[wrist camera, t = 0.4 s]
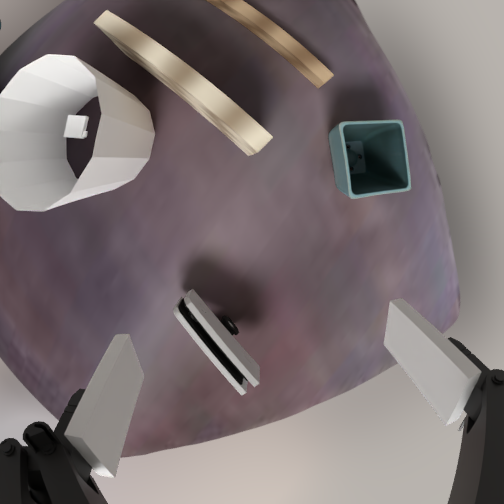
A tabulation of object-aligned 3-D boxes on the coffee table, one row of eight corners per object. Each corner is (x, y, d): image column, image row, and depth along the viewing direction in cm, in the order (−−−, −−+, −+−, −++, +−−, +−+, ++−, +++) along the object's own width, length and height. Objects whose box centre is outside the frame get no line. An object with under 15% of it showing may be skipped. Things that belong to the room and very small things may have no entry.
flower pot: (314, 129, 36) (338, 121, 28) (370, 125, 37) (403, 119, 28) (324, 191, 39) (349, 199, 31) (378, 183, 39) (411, 190, 31)
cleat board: (126, 55, 31) (93, 22, 19) (205, -13, 28) (200, -59, 17) (248, 156, 37) (258, 152, 25) (326, 80, 34) (362, 53, 23)
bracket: (263, 356, 43) (201, 283, 44) (262, 381, 34) (183, 289, 34) (243, 370, 43) (181, 299, 44) (238, 398, 34) (160, 309, 34)
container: (142, 197, 37) (83, 225, 20) (59, 183, 35) (-22, 201, 18) (165, 96, 34) (121, 50, 16) (78, 89, 31) (4, 61, 14)
